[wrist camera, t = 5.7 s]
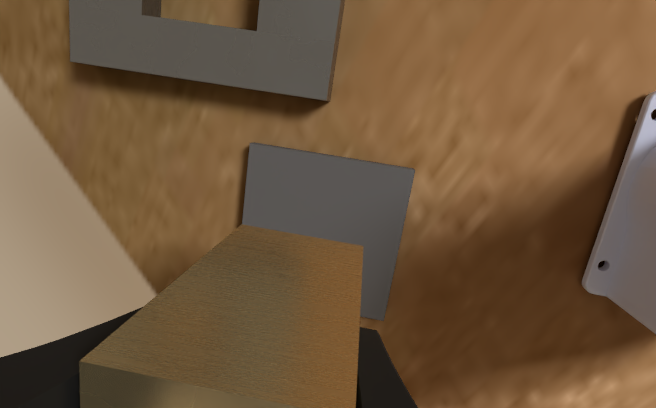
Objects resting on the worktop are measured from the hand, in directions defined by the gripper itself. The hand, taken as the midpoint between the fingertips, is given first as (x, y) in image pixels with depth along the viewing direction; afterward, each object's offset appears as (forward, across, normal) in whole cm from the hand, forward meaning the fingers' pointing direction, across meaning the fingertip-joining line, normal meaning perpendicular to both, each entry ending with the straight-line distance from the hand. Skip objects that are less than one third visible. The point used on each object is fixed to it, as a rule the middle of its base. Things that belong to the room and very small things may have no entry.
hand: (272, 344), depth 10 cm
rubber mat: (+10, 0, 0) cm, 10 cm away
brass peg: (+3, 0, 0) cm, 3 cm away
